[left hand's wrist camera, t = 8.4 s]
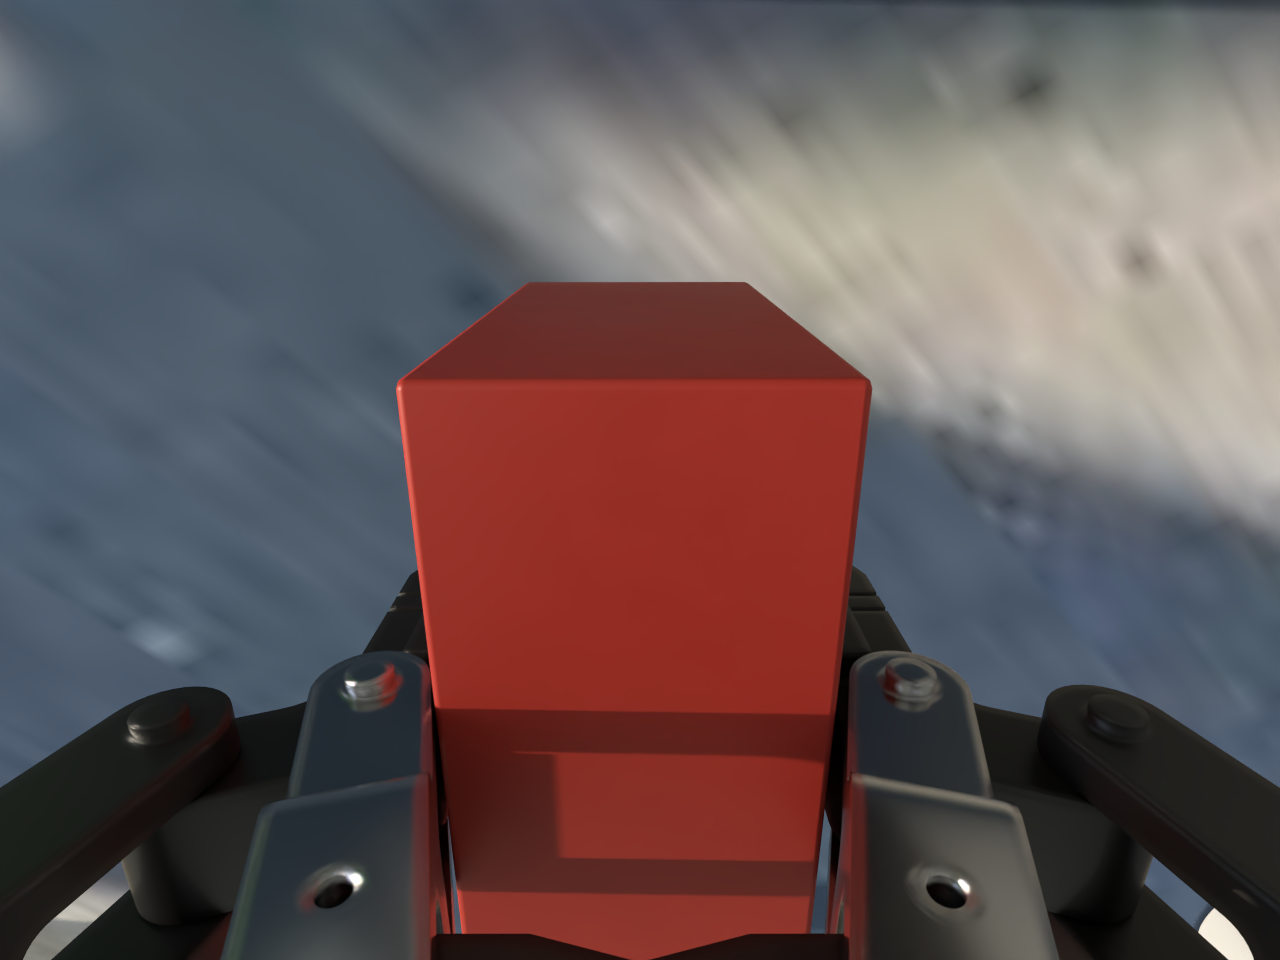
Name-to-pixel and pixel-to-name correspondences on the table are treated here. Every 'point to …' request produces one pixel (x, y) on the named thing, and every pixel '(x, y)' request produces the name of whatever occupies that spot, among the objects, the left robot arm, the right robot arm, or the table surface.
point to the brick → (635, 607)
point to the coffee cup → (1224, 937)
